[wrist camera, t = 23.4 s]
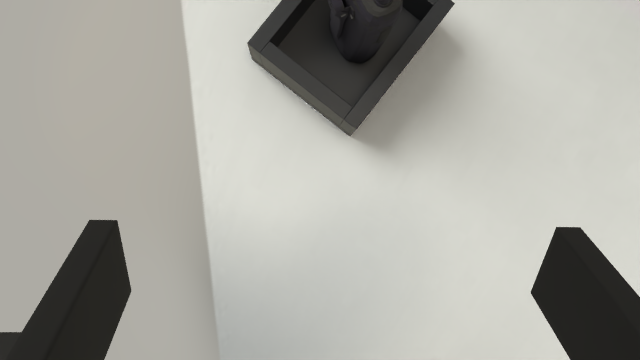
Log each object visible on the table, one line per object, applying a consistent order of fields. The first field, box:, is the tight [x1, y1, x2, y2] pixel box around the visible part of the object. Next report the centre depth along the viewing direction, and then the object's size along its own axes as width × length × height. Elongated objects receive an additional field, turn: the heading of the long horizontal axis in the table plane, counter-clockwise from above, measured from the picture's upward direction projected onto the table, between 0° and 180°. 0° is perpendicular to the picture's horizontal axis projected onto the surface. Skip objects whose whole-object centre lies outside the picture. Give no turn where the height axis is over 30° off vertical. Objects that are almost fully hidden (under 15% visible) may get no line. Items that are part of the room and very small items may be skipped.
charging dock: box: [247, 0, 454, 136], centre depth 38 cm, size 10×12×4 cm
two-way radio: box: [327, 0, 403, 63], centre depth 32 cm, size 6×4×15 cm
